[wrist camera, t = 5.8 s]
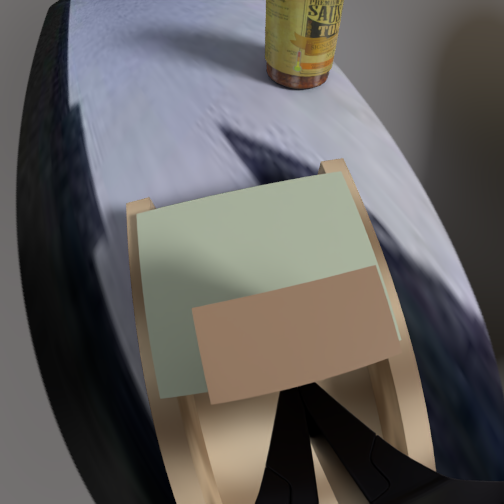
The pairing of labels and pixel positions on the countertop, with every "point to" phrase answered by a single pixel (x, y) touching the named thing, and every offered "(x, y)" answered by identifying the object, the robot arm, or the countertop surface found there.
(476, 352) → the countertop surface
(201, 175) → the countertop surface
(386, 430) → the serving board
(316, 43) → the sauce bottle
